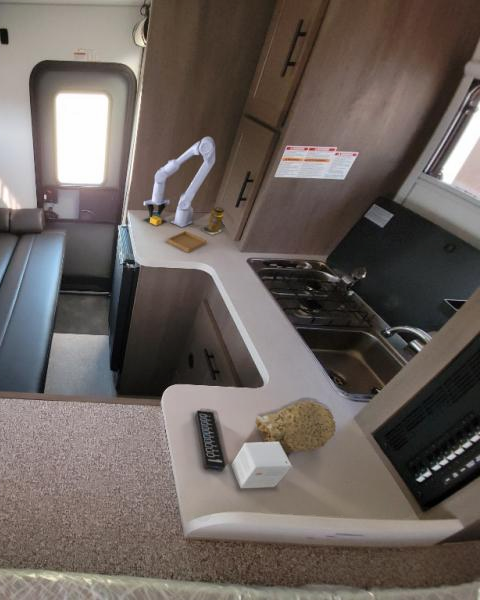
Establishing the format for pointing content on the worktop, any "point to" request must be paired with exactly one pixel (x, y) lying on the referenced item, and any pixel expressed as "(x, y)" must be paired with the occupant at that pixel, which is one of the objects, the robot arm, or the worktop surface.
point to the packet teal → (155, 214)
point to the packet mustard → (155, 220)
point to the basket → (186, 241)
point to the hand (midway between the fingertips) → (154, 216)
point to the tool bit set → (209, 441)
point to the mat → (151, 223)
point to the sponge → (298, 427)
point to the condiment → (214, 221)
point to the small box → (260, 464)
